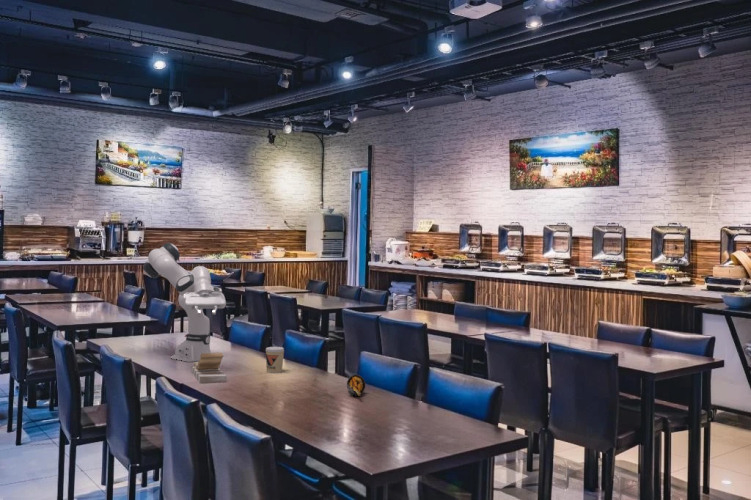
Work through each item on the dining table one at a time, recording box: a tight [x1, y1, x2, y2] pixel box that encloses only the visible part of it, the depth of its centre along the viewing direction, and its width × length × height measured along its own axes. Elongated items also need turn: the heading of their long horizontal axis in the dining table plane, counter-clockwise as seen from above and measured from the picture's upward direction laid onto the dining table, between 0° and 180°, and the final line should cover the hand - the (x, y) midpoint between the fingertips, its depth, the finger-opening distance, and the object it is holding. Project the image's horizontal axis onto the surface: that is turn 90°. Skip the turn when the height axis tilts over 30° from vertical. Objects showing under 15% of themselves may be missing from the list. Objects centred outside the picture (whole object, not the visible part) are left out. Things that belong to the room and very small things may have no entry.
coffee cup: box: [265, 346, 285, 374], centre depth 350 cm, size 9×9×12 cm
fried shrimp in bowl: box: [346, 374, 367, 397], centre depth 303 cm, size 9×11×18 cm
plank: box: [197, 352, 224, 370], centre depth 329 cm, size 13×10×2 cm
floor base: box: [190, 361, 227, 384], centre depth 333 cm, size 27×12×5 cm, turn 24°
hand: (206, 314), depth 340 cm, fingers open, 6 cm apart
